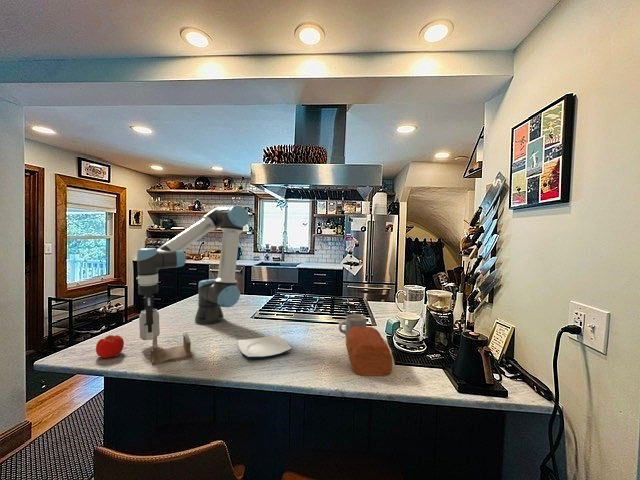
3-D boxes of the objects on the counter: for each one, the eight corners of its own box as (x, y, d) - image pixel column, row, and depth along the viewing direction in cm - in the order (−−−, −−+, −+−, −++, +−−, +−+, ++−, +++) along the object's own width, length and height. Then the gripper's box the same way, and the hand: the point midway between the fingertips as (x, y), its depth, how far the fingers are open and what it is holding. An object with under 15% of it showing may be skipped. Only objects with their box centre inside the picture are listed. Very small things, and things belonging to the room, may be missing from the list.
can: (150, 341, 124) (149, 313, 123) (135, 340, 126) (134, 312, 125) (163, 335, 131) (162, 308, 131) (149, 333, 133) (148, 307, 132)
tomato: (103, 362, 113) (103, 343, 112) (91, 357, 117) (91, 338, 117) (129, 353, 121) (129, 335, 120) (117, 349, 125) (117, 331, 125)
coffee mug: (365, 334, 149) (365, 314, 149) (366, 341, 139) (367, 320, 139) (338, 333, 150) (338, 313, 150) (338, 340, 140) (338, 319, 140)
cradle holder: (188, 346, 129) (188, 331, 129) (192, 357, 119) (192, 341, 118) (151, 353, 122) (151, 337, 121) (151, 365, 111) (151, 347, 111)
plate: (245, 364, 114) (245, 358, 114) (235, 345, 132) (235, 339, 132) (294, 355, 123) (294, 349, 123) (278, 338, 141) (278, 333, 141)
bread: (378, 347, 133) (379, 324, 133) (394, 376, 107) (395, 348, 106) (344, 346, 133) (345, 323, 133) (351, 376, 107) (352, 347, 106)
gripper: (138, 280, 134) (140, 330, 135) (137, 289, 116) (139, 346, 118) (157, 279, 138) (158, 327, 139) (159, 287, 120) (160, 342, 122)
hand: (149, 336), depth 128 cm, fingers closed on can, 7 cm apart
